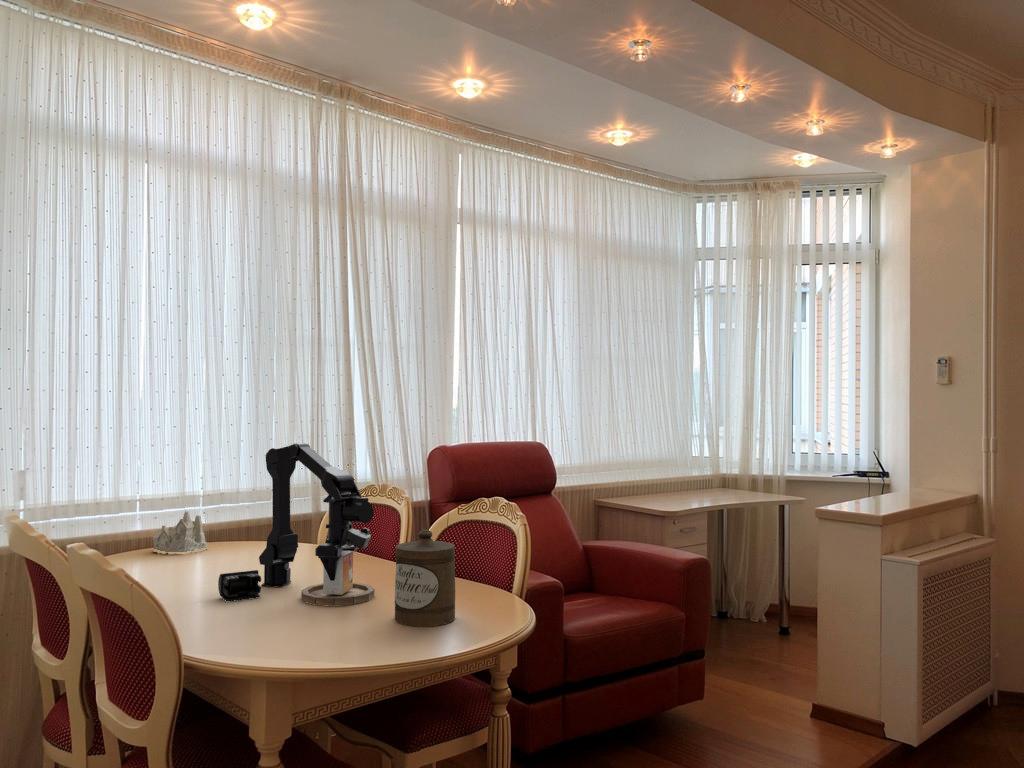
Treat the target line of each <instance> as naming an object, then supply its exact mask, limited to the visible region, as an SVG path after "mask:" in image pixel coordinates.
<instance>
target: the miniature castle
mask: <svg viewBox="0 0 1024 768" xmlns="http://www.w3.org/2000/svg"><path fill="white" fill-rule="evenodd" d="M205 534H206V531H205V530H204V528H203V522H202V516H201V515H200V514H197V515H196V516H195V519H194V520H192V519H191V517H190V514H189V511H187V510H186V511H185V512H184V514H183V518H180V519H179V521H178V523H177V524H176V525H174V526H169V527H168V528H166V525H161V530H160V529H157V530H156V532H155V533H154V535H153V537H152V541H153V549H157V550H160V551H165V552H187V551H194V550H198V549H201V548H205V547H207V546H208V547H209V545H208V542H207V541H206V537H205Z"/></svg>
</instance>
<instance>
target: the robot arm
mask: <svg viewBox="0 0 1024 768" xmlns="http://www.w3.org/2000/svg"><path fill="white" fill-rule="evenodd" d="M297 462H300V463H301V464H302V465H304V467H305V468H307V469H308V470H309V471H310V472H311V473H312V474H313V475H315V477H317V478H318V479H319V480H320V483H321V484H320V485H321V487H322V488H323V490H324V491H325V492H326V493H327V494H328V495H327V496H326V497H325V498H324V499H323V503H328V523H326V524H325V529H328V530H327V531H328V532H327V533H328V534H327V535H328V536H327V537H328V538H326V539H325V542H324V543H323V542H322V543H321V544H319V545H317V546H316V547H315V551H314V553H315V554H314V555H315V557H318V559H320V562H321V563H322V565H323V569H324V568H325V570H326V572H327V574H328V576H329V578H330V580H331V581H334V580H335V576H336V569H337V562H338V560H339V559H340V558H341V557H342V556H343V555H341V554H342V550H343V551H353V553H354V552H355V551H357V550H358V549H361V550H363V549H365V548H368V544H369V542H370V541H371V540H372V537H371V536H372V535H371V533H370V531H371V529H370V528H367V527H363V528H362V529H361V530H360V529H355V528H354V524H353V523H358V524H360V523H361V524H368V523H370V522H371V521H372V519H373V517H374V513H375V512H374V511H375V510H374V507H373V504H372V503H370V502H369V498H368V497H365V496H364V497H363V496H362V494H361V491H360V490H359V489H358V486H357V484H356V482H355V478H354V476H353V475H352V474H350V473H349V472H347V471H345V470H343V469H339V468H336V467H335V466H332V465H331V464H330V463H329V462H328V461H327V460H326V459H325V458H323V457H322V456H321V455H320V454H318V453H317V452H316V451H315V450H314V449H313V448H312V447H311V446H310V444H309V443H306V442H300V443H297V442H296V443H293V444H291V445H287V446H284V447H272V448H270V449H268V451H267V452H266V454H265V466H266V471H267V472H268V474H269V475H270V477H271V480H272V483H271V484H272V486H271V487H272V498H271V499H272V529H271V531H270V532H269V534H268V536H267V538H266V547H265V549H264V550H263V551H262V552H261V554H260V555H259V556H258V560H259V565H262V566H264V567H263V569H264V570H263V574H264V575H263V583H261V587H274V586H278V587H279V588H282V586H283V587H285V586H286V584H287V585H289V584H291V583H292V580H291V570H292V569H291V567H290V563H293V562H294V560H295V557H296V553H297V552H298V548H299V544H298V543H299V542H298V539H299V535H298V533H297V532H296V533H294V531H293V529H292V527H291V477H292V476H293V473H294V472H295V470H296V465H297V464H296V463H297ZM290 582H291V583H290ZM288 583H289V584H288Z"/></svg>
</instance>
